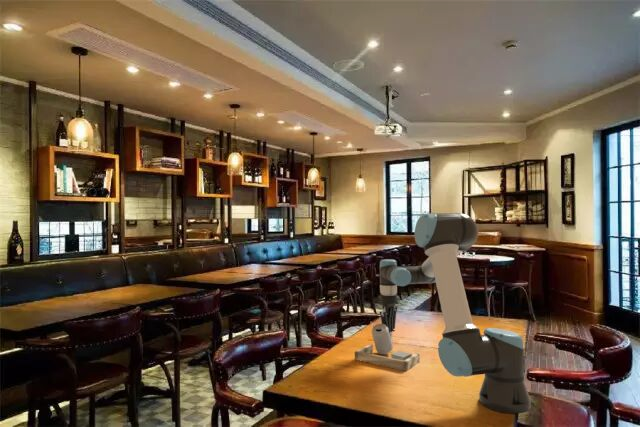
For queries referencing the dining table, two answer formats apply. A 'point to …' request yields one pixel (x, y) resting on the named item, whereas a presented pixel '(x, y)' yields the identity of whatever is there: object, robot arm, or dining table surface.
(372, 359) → the tray
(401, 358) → the pale grey square block
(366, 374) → the dining table surface
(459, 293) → the robot arm
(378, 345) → the can
